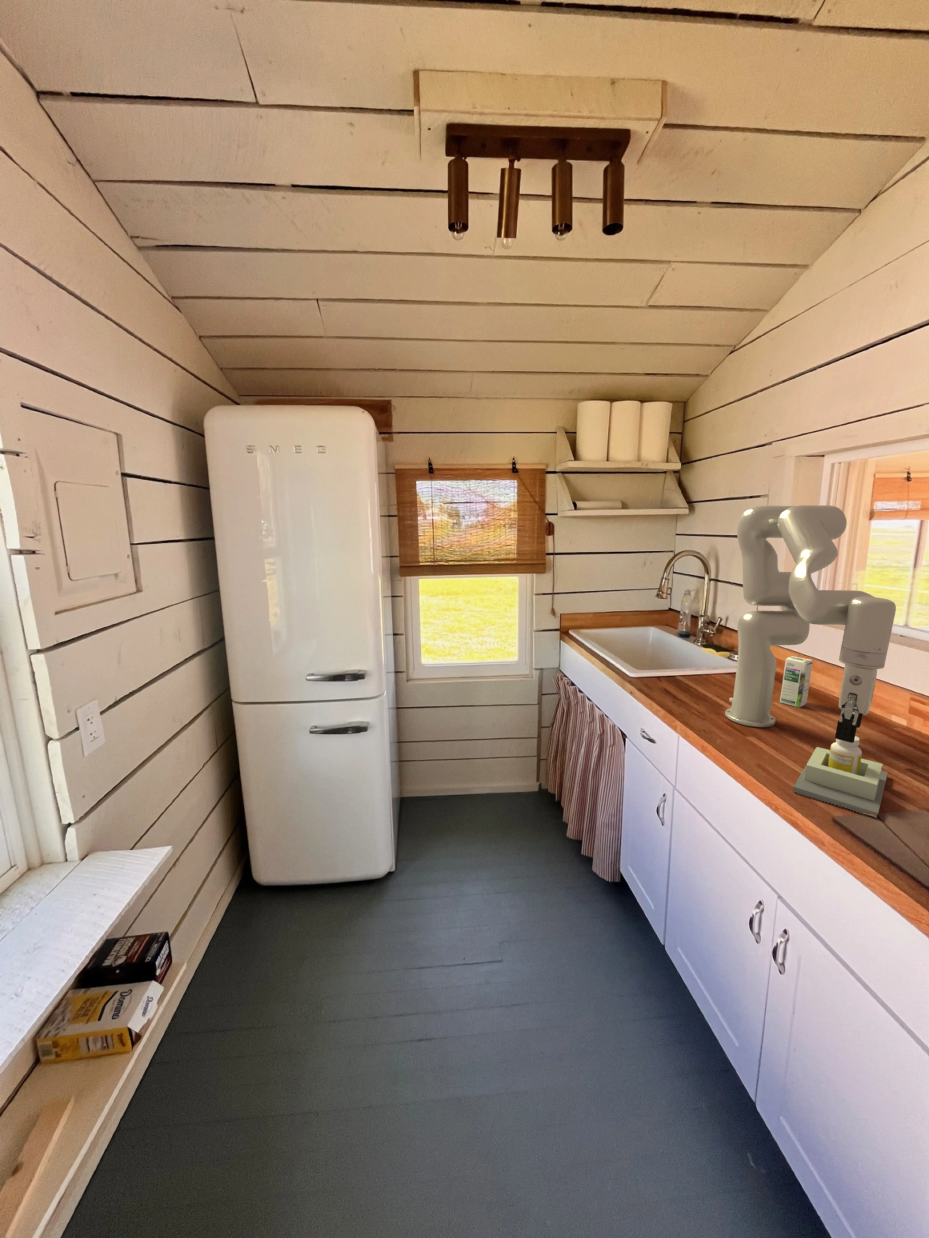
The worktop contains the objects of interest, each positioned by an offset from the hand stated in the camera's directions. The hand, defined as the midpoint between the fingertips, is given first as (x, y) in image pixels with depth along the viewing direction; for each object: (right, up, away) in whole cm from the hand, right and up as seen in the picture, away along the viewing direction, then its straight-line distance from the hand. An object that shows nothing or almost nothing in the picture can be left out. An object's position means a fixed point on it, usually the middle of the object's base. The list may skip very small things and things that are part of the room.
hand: (847, 732), depth 109 cm
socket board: (0, -12, +2) cm, 12 cm away
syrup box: (+20, -2, +50) cm, 54 cm away
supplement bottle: (0, -11, +2) cm, 11 cm away
